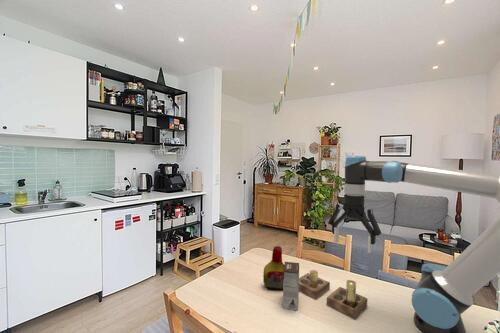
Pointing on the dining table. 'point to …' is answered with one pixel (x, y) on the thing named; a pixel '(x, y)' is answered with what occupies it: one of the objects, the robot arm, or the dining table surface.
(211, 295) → the dining table surface
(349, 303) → the peg
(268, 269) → the bottle
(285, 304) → the coffee box
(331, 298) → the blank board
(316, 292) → the board
